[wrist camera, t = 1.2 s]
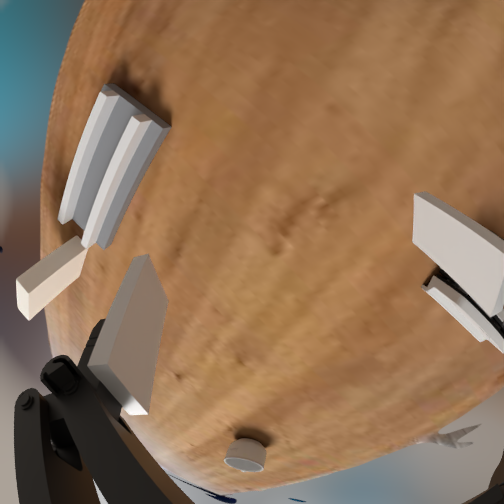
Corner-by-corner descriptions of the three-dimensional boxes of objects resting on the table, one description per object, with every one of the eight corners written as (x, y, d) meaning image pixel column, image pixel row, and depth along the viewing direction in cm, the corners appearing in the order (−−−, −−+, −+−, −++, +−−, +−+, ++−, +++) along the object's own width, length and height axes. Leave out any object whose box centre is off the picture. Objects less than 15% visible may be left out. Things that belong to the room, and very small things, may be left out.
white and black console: (418, 285, 35) (454, 314, 25) (438, 257, 34) (479, 278, 24) (475, 338, 35) (507, 368, 26) (492, 315, 34) (527, 341, 25)
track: (113, 83, 33) (91, 85, 29) (171, 126, 34) (151, 131, 30) (68, 202, 46) (51, 212, 42) (110, 244, 47) (94, 257, 43)
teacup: (236, 430, 67) (226, 454, 61) (274, 442, 66) (267, 467, 59) (228, 445, 75) (220, 466, 68) (262, 456, 73) (255, 478, 66)
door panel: (74, 232, 49) (13, 275, 35) (88, 246, 49) (28, 293, 36) (66, 262, 54) (15, 304, 41) (79, 276, 54) (28, 320, 41)
